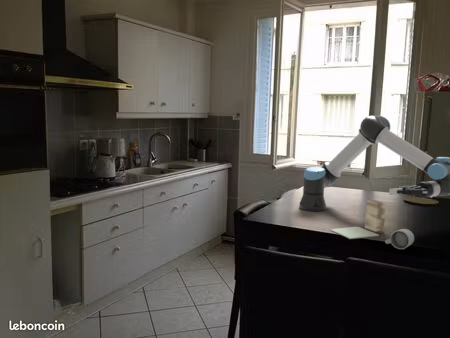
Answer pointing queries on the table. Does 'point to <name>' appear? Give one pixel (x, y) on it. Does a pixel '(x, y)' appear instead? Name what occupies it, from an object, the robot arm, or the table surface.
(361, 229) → the sage mat
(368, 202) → the birch block
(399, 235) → the ceramic mug
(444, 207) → the table surface
